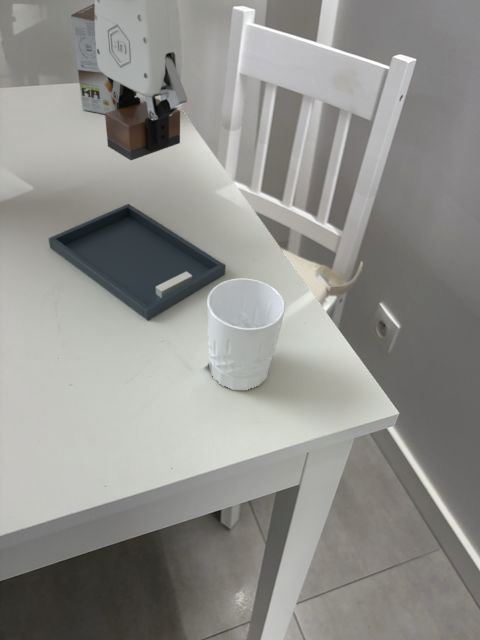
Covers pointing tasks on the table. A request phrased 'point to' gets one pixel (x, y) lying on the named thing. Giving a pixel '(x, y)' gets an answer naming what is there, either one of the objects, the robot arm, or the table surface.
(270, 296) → the white cup
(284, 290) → the table surface
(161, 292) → the chalk
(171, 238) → the tray
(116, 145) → the eraser
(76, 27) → the coffee box
